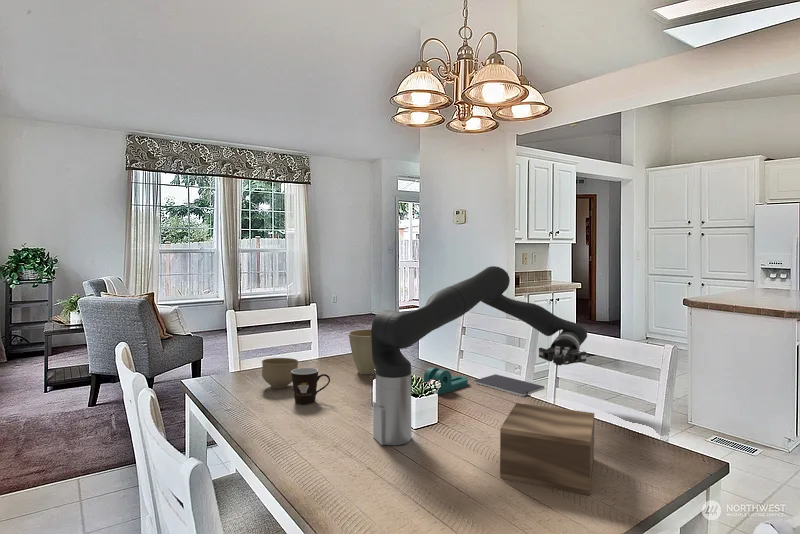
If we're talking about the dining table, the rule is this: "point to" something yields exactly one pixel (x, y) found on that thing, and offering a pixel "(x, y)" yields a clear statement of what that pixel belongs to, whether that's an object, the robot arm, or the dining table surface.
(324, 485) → the dining table surface
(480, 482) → the dining table surface
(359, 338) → the plant pot
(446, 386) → the bracket
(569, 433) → the box lid
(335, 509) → the dining table surface
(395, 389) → the robot arm
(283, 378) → the bowl
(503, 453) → the wooden box
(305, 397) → the coffee mug
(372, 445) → the dining table surface
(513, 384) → the notebook
